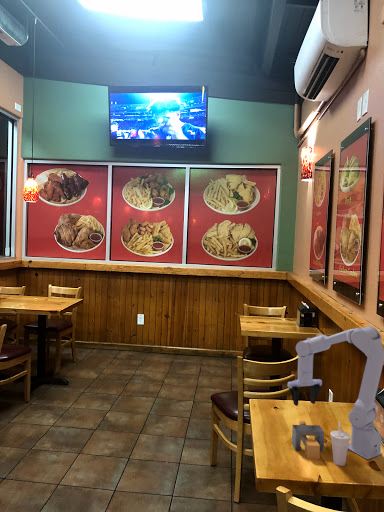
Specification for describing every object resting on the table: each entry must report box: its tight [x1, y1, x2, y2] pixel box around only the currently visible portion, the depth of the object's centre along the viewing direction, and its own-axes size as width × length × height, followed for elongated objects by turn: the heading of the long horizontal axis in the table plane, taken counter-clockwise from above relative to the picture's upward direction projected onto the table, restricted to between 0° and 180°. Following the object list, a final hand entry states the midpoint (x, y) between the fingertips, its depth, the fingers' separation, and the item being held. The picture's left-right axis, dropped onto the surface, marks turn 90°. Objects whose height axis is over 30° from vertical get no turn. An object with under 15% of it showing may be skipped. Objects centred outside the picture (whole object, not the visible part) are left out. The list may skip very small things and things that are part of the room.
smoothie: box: [329, 421, 351, 466], centre depth 137 cm, size 6×6×14 cm
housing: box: [291, 424, 325, 452], centre depth 147 cm, size 5×10×7 cm, turn 90°
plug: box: [298, 420, 321, 460], centre depth 147 cm, size 16×4×6 cm, turn 0°
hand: (304, 404), depth 163 cm, fingers open, 7 cm apart
